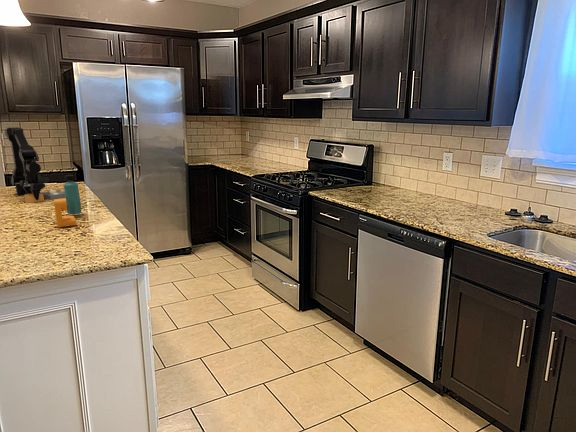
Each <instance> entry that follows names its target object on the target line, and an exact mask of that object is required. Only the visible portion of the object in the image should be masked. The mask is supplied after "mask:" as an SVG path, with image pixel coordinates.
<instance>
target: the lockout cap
mask: <svg viewBox="0 0 576 432" xmlns="http://www.w3.org/2000/svg"><path fill="white" fill-rule="evenodd" d="M24 201H25V202H27V203H29V204H31V203H39V202H44V201H45V198H44V197H43V194H39V199H38V200H36V199H35V197H34V195H33V194H26V195H24Z"/></svg>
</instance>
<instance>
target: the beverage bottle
mask: <svg viewBox="0 0 576 432" xmlns="http://www.w3.org/2000/svg"><path fill="white" fill-rule="evenodd" d="M64 180H65V181H66V182H65V183H64V184H63V190H64V191H65V198H66V203H67V211H66V212H67V214H68V215H78V214H81V213H82V204H81V198H80V197H81V196H80V190H79V183H78V182H76V181H75V180H76V177H75V175H73V174H66V175H65V176H64ZM65 198H64V199H65Z"/></svg>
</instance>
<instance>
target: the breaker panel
mask: <svg viewBox="0 0 576 432" xmlns="http://www.w3.org/2000/svg"><path fill="white" fill-rule="evenodd" d="M55 190H56V193H53V194H49V193H48V191H49V190H47V191H40V194H43V197H44V199H46V200H50V201H51V200H53V201H54V200H55V199H65V191H64V189H62V188H58V189H55Z"/></svg>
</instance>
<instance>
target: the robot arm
mask: <svg viewBox="0 0 576 432" xmlns="http://www.w3.org/2000/svg"><path fill="white" fill-rule="evenodd" d="M4 135H5V137H6V139H7V140H8V141H9V143H10V145H11V146H10V147H11V152H12V153H11V154H12V159H13V165H14V168H13V170H12V173H11V174H12V175H11V181H10V183H11V185H12V186H14V187H15V190H16V193H14V195H16V196H18V197H20V196H25V195H26V194H33V195H34V197H35V199H36V200H38V199H39V194H40V192H41V191H42V190H43V189H44V188H46V184H48V183H49V179H50V178H49V177H46V176H44V175H43V174H41V173H40V172H41V170H42V166H41V165H40V164H39V163H37V162H39V161H40V160H39V159H40V157H39V154H38V153H37V151H36V149H34V147H33V146H32V145H30V144H29V142H28V140H27V138H26V136H25V132H24V128H22V127H19V126H18V127H17V126H15V127H6V129H4Z"/></svg>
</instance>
